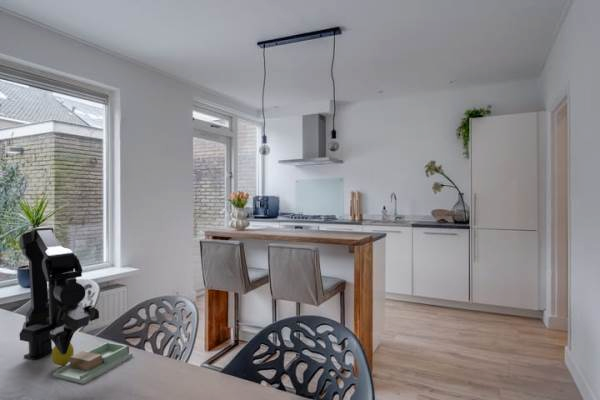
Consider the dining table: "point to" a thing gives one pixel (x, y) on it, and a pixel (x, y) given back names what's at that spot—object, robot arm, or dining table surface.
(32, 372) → the dining table surface
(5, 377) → the dining table surface
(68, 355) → the lemon
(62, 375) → the tray
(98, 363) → the tan rectangular block
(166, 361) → the dining table surface
